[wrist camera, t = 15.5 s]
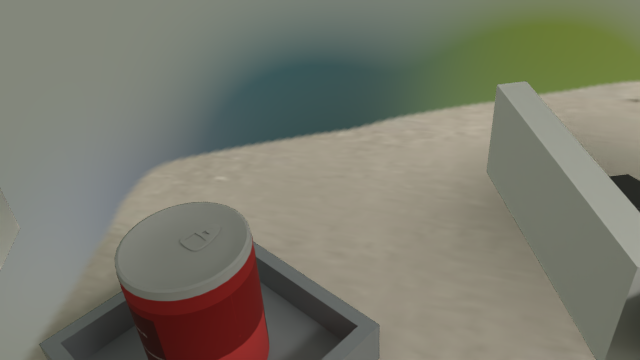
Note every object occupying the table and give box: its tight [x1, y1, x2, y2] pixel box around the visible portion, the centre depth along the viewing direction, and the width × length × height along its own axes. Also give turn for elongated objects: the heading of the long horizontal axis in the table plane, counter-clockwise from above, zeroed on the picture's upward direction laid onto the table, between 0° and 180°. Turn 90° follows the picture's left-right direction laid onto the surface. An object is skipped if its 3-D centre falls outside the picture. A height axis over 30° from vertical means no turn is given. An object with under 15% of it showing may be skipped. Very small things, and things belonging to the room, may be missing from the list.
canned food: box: [115, 202, 269, 360], centre depth 37 cm, size 8×8×11 cm
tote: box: [39, 242, 379, 360], centre depth 39 cm, size 16×16×4 cm
